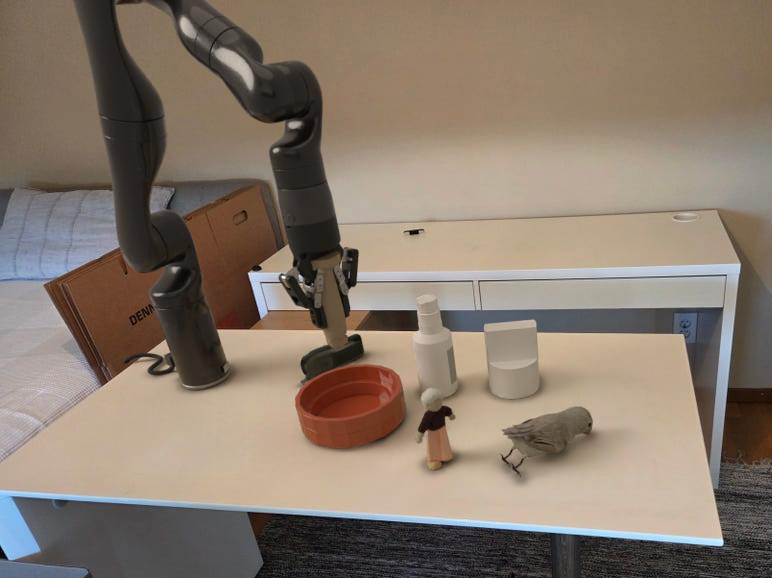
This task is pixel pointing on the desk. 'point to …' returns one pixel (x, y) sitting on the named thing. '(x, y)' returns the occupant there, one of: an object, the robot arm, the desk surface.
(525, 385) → the base with upright slab
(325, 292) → the handle
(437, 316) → the spray bottle
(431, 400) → the grandmother figurine
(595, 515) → the desk surface
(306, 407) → the bowl
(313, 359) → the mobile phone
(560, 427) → the decorative bird
